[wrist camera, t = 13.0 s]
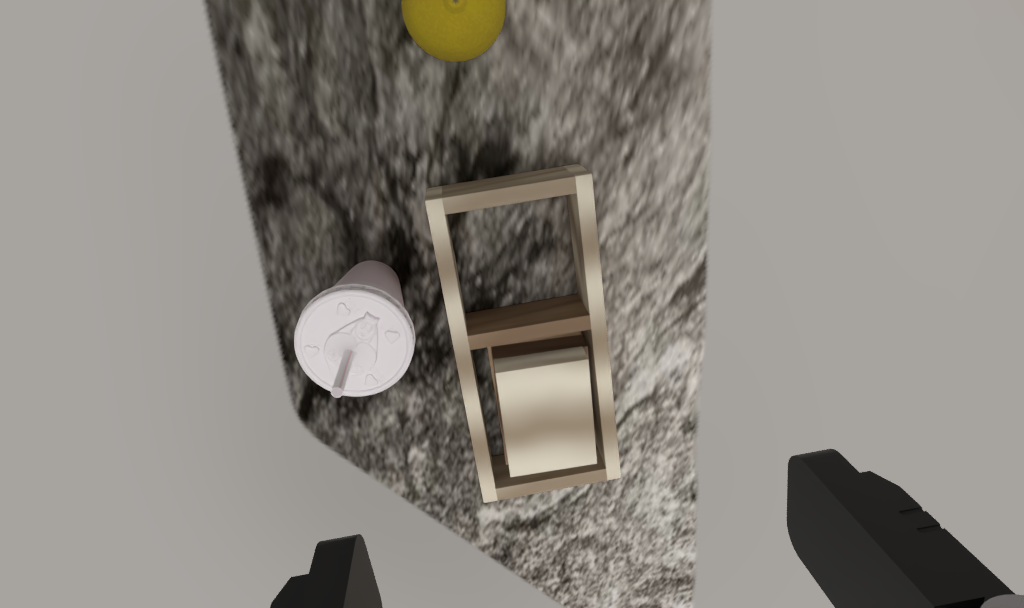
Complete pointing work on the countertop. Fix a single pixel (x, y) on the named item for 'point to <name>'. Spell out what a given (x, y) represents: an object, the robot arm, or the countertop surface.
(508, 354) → the block
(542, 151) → the countertop surface
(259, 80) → the countertop surface
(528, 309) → the offcut rack
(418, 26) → the lemon
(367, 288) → the smoothie
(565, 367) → the offcut top
